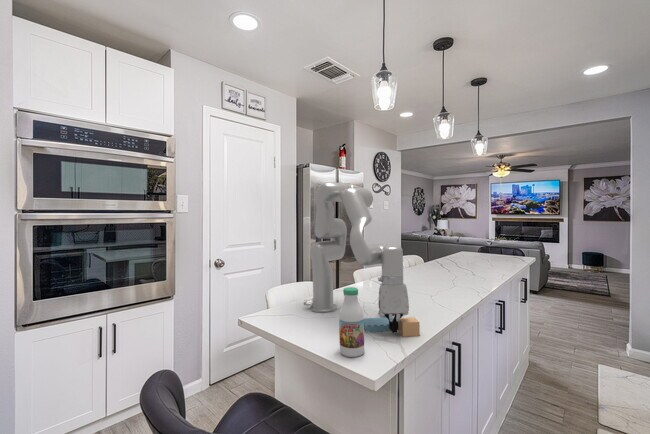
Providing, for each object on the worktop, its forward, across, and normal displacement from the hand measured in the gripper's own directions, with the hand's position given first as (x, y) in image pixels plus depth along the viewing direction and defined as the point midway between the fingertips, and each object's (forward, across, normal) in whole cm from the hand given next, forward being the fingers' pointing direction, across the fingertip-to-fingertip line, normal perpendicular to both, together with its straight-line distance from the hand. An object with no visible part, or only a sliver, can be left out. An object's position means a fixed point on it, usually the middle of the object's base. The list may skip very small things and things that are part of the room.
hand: (393, 331), depth 105 cm
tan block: (+1, +6, 0) cm, 6 cm away
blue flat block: (+1, -2, +8) cm, 8 cm away
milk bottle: (+1, -17, -12) cm, 21 cm away
